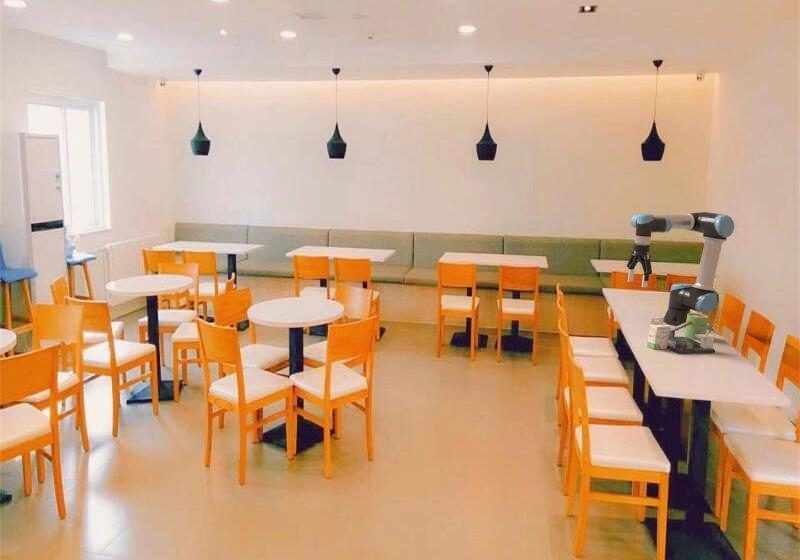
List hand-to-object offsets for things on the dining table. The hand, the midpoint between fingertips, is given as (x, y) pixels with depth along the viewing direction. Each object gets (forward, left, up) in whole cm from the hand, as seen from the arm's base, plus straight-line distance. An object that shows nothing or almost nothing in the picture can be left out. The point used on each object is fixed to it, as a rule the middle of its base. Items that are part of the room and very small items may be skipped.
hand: (637, 284), depth 326 cm
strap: (-12, +21, -18) cm, 30 cm away
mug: (-34, +8, -27) cm, 44 cm away
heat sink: (-12, +22, -26) cm, 36 cm away
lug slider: (-21, +30, -25) cm, 44 cm away
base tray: (-15, +22, -27) cm, 38 cm away
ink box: (0, +23, -28) cm, 36 cm away
